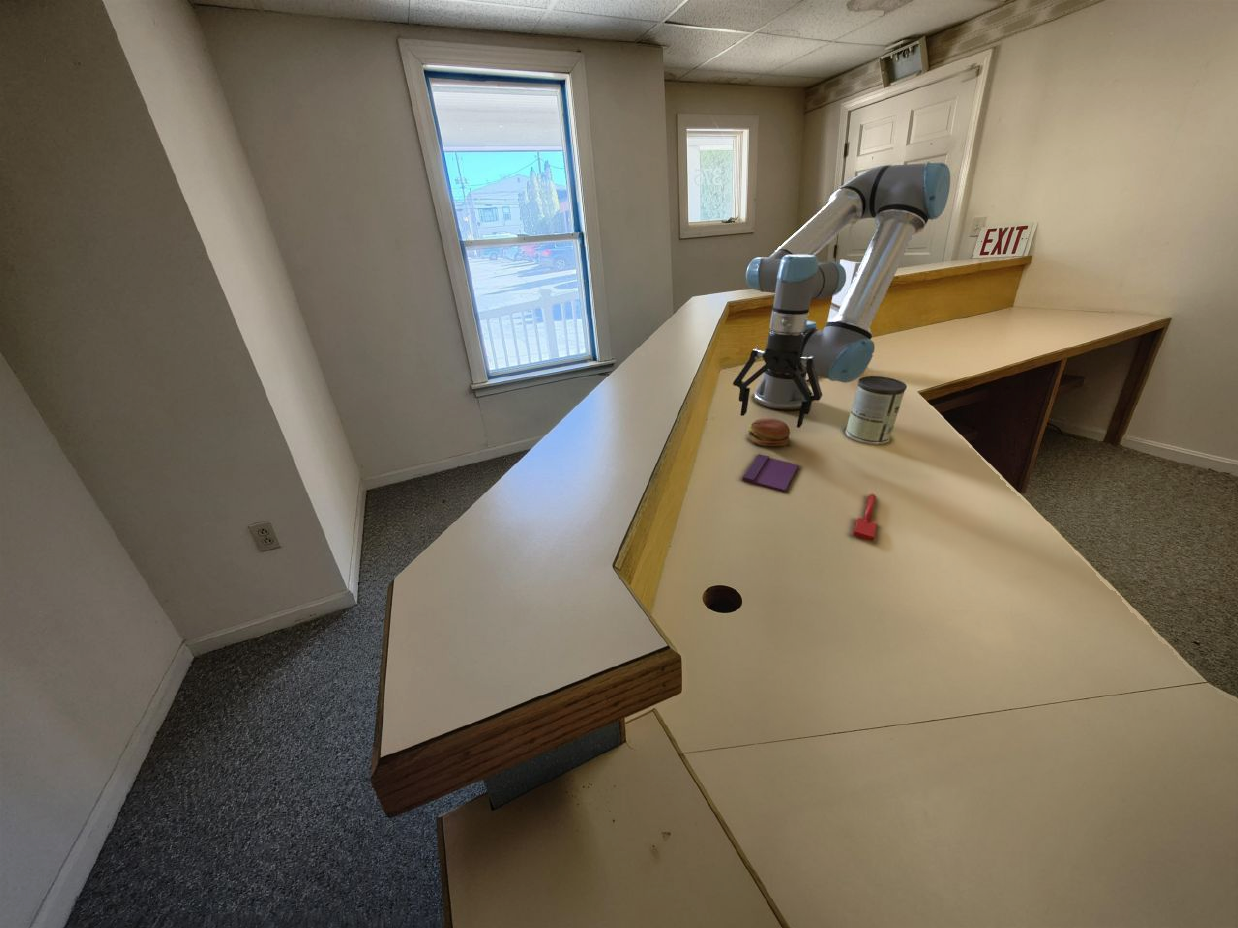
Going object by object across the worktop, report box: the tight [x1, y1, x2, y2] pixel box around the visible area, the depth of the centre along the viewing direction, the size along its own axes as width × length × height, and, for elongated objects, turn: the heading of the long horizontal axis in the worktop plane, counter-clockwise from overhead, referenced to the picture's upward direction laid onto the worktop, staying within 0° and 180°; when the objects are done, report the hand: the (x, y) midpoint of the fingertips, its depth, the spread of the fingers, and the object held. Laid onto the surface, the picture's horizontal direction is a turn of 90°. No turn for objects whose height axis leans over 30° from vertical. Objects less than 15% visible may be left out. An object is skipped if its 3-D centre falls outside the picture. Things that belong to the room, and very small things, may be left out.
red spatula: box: [852, 493, 878, 542], centre depth 85 cm, size 15×3×1 cm, turn 149°
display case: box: [826, 258, 877, 323], centre depth 156 cm, size 11×11×35 cm
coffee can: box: [844, 375, 908, 445], centre depth 112 cm, size 10×10×14 cm
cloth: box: [742, 453, 799, 493], centre depth 99 cm, size 12×9×1 cm
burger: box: [748, 417, 791, 447], centre depth 113 cm, size 10×9×5 cm
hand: (770, 419), depth 111 cm, fingers open, 13 cm apart
